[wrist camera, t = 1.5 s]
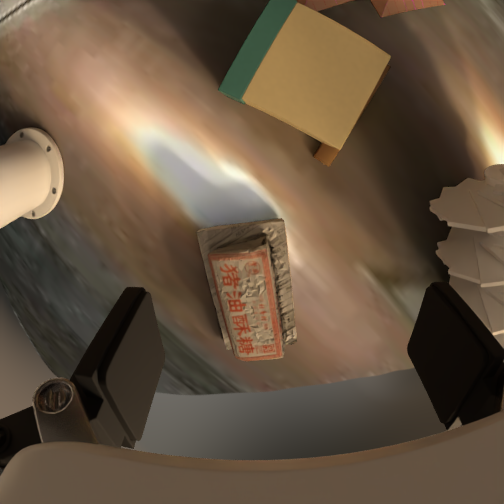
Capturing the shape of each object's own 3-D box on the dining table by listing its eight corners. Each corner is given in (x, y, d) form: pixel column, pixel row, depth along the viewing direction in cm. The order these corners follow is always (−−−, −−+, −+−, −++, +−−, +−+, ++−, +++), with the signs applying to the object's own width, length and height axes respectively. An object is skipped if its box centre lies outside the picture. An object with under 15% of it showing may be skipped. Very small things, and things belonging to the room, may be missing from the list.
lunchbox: (227, 96, 29) (217, 90, 21) (271, 18, 25) (275, -9, 17) (320, 143, 31) (339, 151, 23) (362, 66, 27) (392, 55, 19)
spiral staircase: (439, 299, 44) (416, 157, 33) (528, 285, 34) (530, 137, 23) (440, 395, 31) (434, 235, 20) (552, 376, 21) (602, 204, 10)
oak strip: (312, 156, 31) (313, 157, 31) (374, 56, 26) (376, 55, 25) (327, 166, 32) (329, 167, 31) (388, 67, 26) (391, 66, 26)
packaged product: (300, 361, 37) (224, 368, 38) (296, 337, 42) (227, 344, 42) (287, 230, 30) (188, 244, 31) (283, 215, 34) (197, 227, 35)
